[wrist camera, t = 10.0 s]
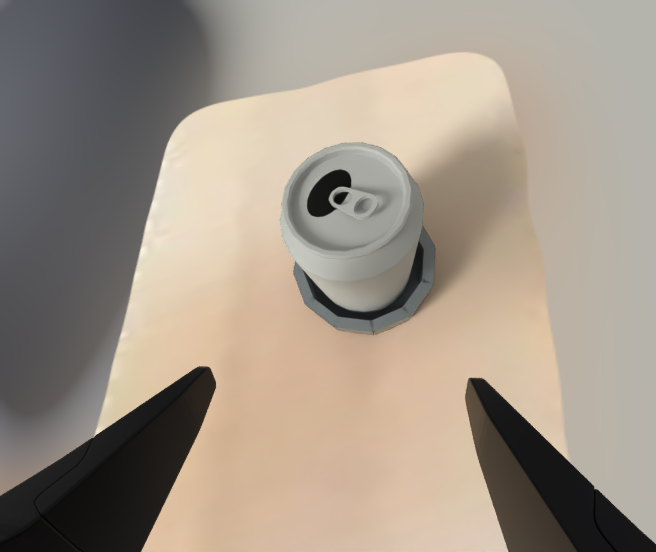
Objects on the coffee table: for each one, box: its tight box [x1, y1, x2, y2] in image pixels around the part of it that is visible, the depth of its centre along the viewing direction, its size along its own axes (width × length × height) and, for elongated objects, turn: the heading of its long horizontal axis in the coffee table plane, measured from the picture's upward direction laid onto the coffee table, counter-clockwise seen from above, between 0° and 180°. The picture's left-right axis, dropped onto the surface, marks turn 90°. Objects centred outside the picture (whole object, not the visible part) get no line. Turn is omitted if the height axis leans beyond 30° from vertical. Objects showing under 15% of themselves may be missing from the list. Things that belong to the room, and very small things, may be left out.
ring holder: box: [293, 225, 435, 335], centre depth 23 cm, size 11×11×3 cm
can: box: [280, 143, 424, 314], centre depth 19 cm, size 8×8×12 cm
